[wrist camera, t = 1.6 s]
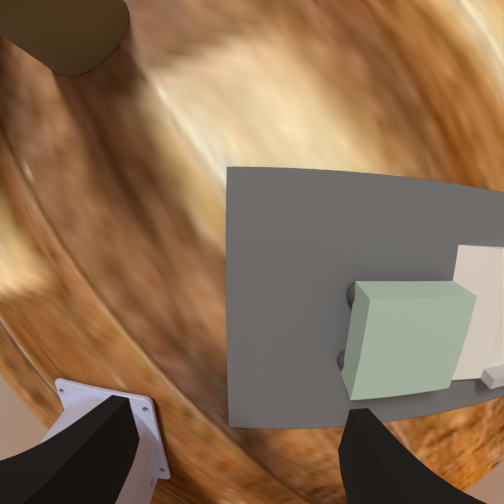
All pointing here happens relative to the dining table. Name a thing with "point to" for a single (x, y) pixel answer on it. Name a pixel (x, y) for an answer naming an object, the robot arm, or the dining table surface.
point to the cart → (404, 336)
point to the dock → (338, 280)
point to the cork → (65, 31)
